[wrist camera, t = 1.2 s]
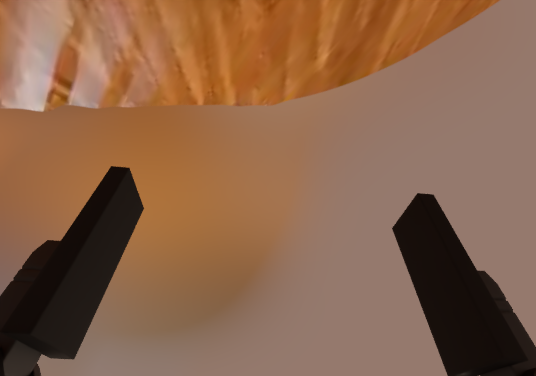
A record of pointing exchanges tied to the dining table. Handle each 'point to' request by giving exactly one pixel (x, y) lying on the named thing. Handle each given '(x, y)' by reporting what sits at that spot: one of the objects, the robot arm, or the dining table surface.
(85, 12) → the dining table surface
